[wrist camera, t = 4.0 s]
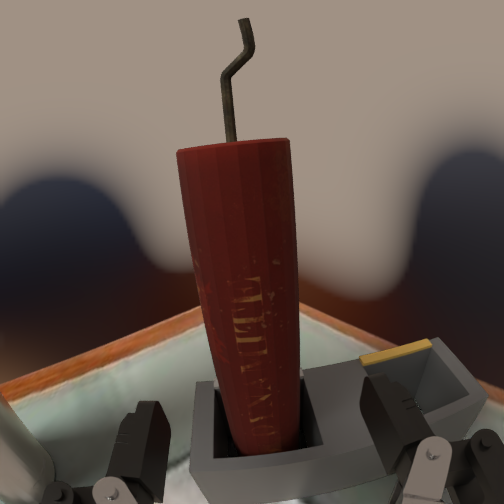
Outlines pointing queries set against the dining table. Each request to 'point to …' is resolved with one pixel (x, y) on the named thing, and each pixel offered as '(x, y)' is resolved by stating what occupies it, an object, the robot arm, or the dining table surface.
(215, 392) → the socket block
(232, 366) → the firecracker
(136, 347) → the dining table surface
